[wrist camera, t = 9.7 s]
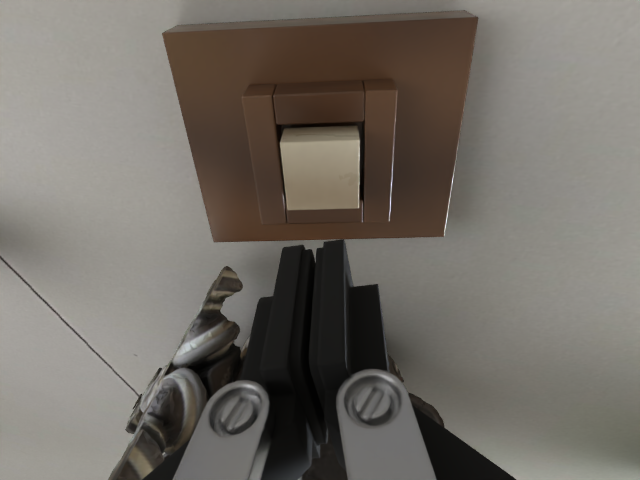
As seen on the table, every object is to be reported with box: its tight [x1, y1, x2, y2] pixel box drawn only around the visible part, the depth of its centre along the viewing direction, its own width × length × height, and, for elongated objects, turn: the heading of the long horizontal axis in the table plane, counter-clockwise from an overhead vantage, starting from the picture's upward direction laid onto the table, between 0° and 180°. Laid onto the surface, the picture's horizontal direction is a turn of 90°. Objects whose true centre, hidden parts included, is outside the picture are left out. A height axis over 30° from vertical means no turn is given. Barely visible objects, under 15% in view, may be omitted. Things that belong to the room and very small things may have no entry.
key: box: [280, 126, 360, 210], centre depth 17 cm, size 3×3×2 cm
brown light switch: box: [162, 10, 478, 242], centre depth 19 cm, size 10×12×4 cm
